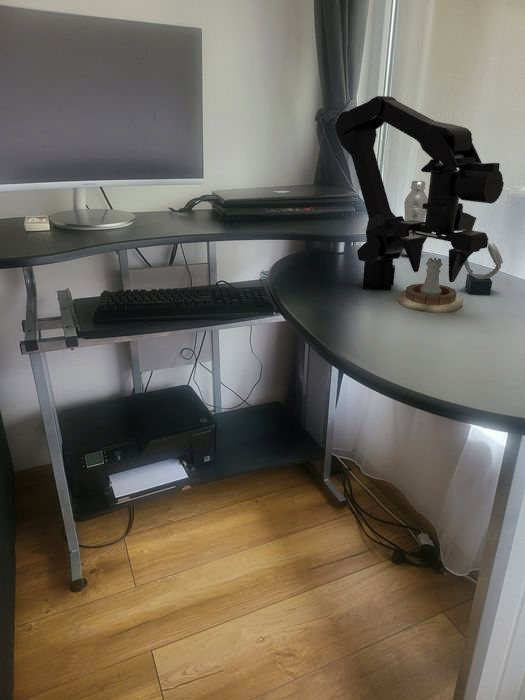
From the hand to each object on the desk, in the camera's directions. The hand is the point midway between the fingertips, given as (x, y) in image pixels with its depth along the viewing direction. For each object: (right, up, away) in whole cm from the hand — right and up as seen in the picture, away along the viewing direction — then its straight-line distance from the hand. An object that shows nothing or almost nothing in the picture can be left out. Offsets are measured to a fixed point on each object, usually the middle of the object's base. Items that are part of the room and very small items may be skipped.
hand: (433, 276), depth 105 cm
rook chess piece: (0, -4, +2) cm, 5 cm away
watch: (+13, -2, +9) cm, 16 cm away
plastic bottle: (+7, +12, +40) cm, 42 cm away
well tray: (0, -5, +2) cm, 6 cm away
